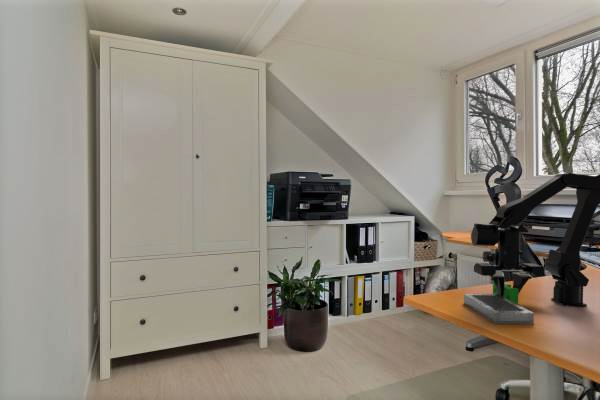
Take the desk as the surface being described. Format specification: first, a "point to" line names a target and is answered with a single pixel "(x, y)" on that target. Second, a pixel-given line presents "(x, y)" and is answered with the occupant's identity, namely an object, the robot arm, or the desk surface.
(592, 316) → the desk surface
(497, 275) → the robot arm
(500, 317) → the gray rectangular tray
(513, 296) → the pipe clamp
